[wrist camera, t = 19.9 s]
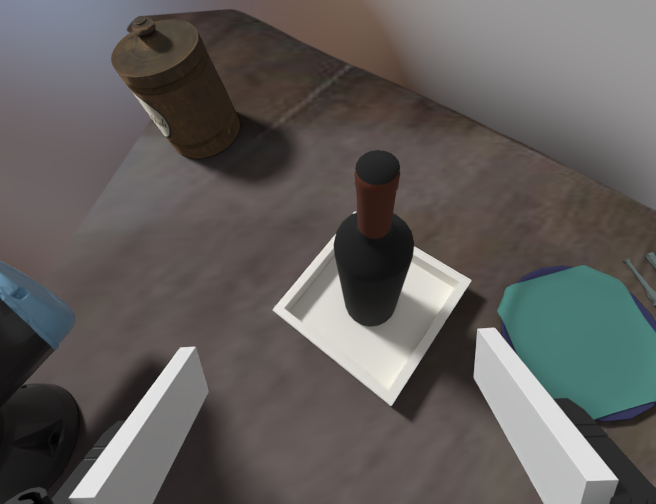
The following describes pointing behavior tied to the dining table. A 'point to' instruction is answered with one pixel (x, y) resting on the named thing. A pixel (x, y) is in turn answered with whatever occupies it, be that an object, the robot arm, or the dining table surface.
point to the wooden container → (177, 85)
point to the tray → (376, 341)
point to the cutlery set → (585, 338)
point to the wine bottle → (373, 243)
